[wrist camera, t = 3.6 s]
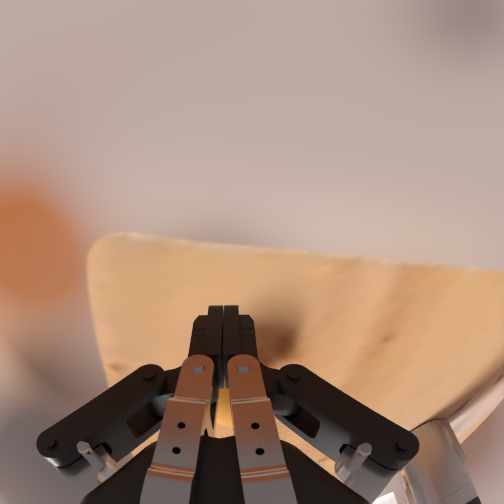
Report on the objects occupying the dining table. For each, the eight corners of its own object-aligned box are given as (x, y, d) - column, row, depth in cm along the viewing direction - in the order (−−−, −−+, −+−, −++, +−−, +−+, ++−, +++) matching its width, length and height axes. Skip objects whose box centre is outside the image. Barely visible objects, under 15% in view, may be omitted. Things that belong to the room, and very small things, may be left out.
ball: (265, 346, 22) (272, 399, 17) (263, 388, 25) (268, 436, 20) (197, 347, 22) (190, 400, 17) (204, 388, 24) (200, 437, 19)
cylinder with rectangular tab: (376, 471, 40) (390, 517, 29) (406, 464, 42) (421, 505, 31) (353, 487, 44) (364, 528, 33) (383, 480, 45) (395, 519, 34)
